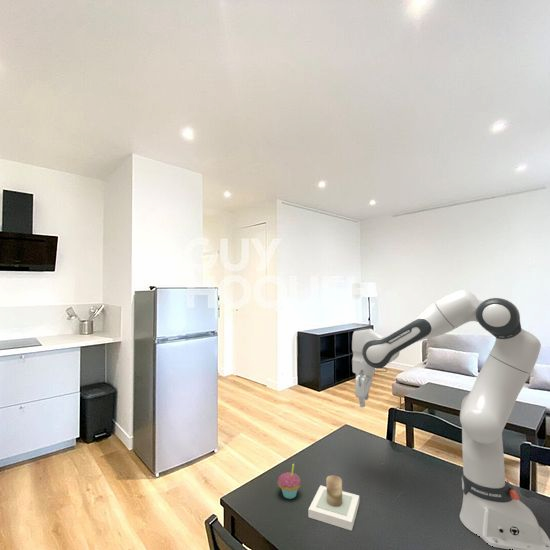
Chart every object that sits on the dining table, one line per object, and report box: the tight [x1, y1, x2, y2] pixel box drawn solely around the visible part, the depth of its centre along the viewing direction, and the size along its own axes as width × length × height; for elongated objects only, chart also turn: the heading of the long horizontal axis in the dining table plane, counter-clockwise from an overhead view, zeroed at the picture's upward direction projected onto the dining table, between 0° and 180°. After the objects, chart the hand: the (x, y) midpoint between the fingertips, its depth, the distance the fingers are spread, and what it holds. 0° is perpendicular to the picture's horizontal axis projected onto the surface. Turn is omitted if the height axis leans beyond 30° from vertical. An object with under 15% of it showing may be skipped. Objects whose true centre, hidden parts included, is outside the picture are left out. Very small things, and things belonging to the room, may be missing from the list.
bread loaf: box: [325, 474, 343, 507], centre depth 103 cm, size 5×5×7 cm
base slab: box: [307, 484, 360, 531], centre depth 103 cm, size 14×14×3 cm
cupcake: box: [277, 462, 302, 500], centre depth 111 cm, size 9×8×12 cm
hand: (364, 403), depth 123 cm, fingers open, 8 cm apart
